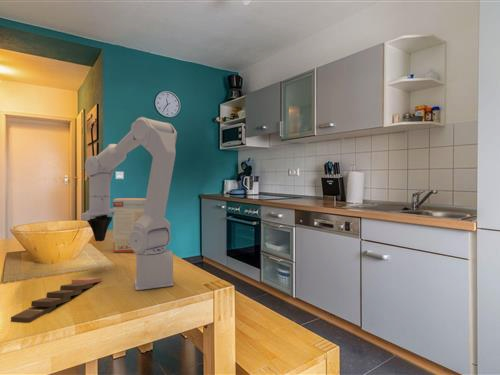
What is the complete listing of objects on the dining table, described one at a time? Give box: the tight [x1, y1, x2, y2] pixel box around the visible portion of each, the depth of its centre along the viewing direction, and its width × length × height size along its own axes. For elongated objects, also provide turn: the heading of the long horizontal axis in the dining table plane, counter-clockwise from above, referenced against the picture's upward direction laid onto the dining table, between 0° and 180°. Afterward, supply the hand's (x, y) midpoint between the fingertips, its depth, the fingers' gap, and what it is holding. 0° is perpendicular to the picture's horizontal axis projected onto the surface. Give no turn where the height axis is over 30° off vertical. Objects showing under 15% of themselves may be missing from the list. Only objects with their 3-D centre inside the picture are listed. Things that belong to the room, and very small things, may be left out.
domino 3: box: [45, 289, 83, 298], centre depth 72 cm, size 1×4×7 cm
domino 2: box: [30, 296, 72, 307], centre depth 68 cm, size 1×4×7 cm
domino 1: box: [10, 305, 57, 324], centre depth 63 cm, size 1×4×7 cm
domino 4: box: [59, 283, 94, 291], centre depth 77 cm, size 1×4×7 cm
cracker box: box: [112, 197, 146, 254], centre depth 119 cm, size 14×6×21 cm, turn 84°
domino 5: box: [70, 276, 103, 284], centre depth 81 cm, size 1×4×7 cm
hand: (99, 240), depth 93 cm, fingers closed
